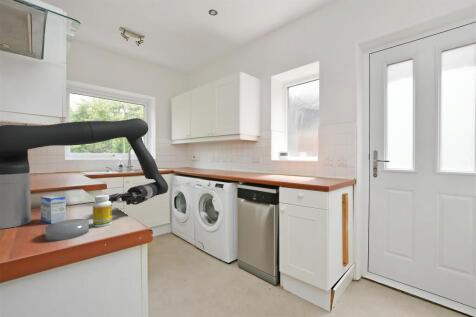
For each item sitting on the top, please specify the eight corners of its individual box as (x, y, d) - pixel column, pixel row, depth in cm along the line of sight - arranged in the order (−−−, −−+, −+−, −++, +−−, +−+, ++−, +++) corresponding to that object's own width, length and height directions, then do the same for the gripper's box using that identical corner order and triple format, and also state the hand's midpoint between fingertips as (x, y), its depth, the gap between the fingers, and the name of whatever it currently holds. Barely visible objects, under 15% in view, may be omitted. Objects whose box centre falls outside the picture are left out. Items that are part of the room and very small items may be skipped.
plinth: (35, 240, 60) (35, 229, 60) (67, 228, 70) (67, 218, 70) (69, 241, 59) (68, 230, 59) (96, 228, 69) (96, 219, 69)
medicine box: (40, 221, 78) (39, 196, 78) (55, 217, 82) (54, 194, 82) (51, 224, 74) (50, 198, 74) (66, 220, 78) (65, 196, 78)
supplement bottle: (92, 224, 73) (91, 195, 73) (110, 221, 77) (109, 193, 77) (94, 228, 69) (93, 198, 69) (113, 224, 73) (112, 195, 72)
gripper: (124, 185, 97) (97, 191, 81) (155, 185, 95) (134, 191, 79) (124, 202, 97) (98, 211, 81) (155, 202, 95) (134, 212, 79)
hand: (116, 201), depth 80 cm, fingers open, 8 cm apart
